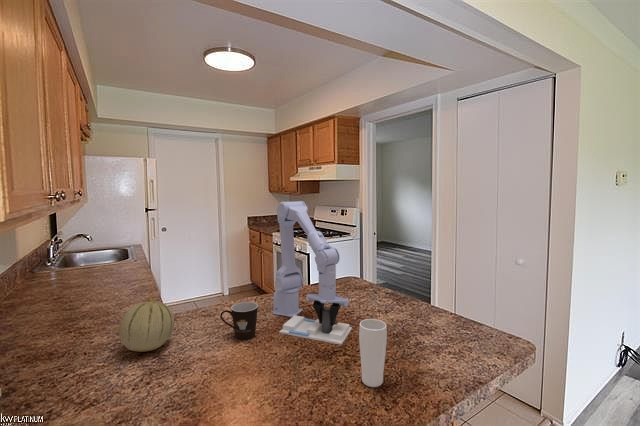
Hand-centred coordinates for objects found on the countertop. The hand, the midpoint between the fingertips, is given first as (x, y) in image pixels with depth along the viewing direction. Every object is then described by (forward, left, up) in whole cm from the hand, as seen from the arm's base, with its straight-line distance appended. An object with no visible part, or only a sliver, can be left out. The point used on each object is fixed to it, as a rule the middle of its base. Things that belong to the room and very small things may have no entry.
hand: (327, 323), depth 105 cm
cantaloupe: (-47, -30, -3) cm, 56 cm away
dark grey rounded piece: (0, +3, -3) cm, 4 cm away
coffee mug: (-26, -12, -3) cm, 29 cm away
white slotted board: (-4, 0, -3) cm, 5 cm away
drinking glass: (+20, -21, -3) cm, 29 cm away
